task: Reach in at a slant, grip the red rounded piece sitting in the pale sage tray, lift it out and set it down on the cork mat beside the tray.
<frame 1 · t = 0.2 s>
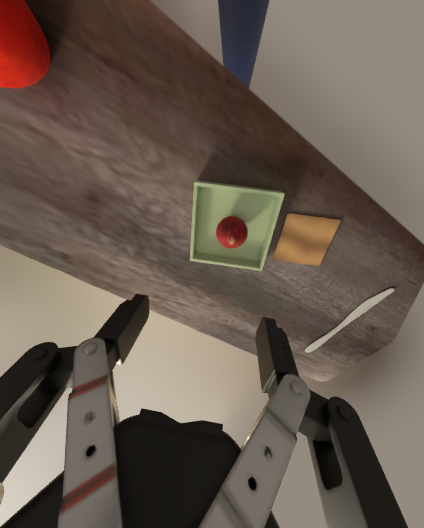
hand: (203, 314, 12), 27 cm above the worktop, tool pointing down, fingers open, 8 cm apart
red rounded piece: (231, 225, 36), resting on tray
apple: (35, 51, 26), on the worktop
cork mat: (304, 240, 36), on the worktop
butter knife: (341, 322, 46), on the worktop
tray: (231, 225, 36), on the worktop
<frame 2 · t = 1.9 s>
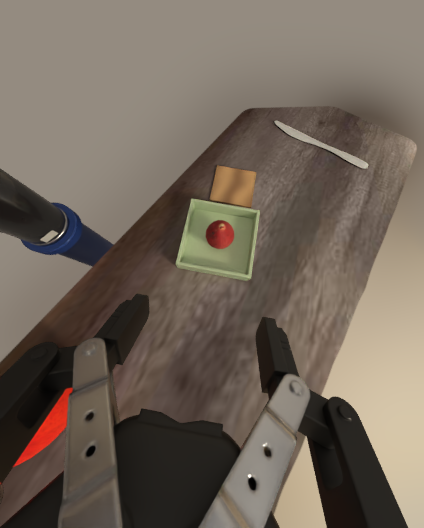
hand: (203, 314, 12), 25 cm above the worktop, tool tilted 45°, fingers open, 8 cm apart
red rounded piece: (218, 241, 40), resting on tray
apple: (70, 385, 33), on the worktop
cork mat: (233, 186, 44), on the worktop
butter knife: (318, 145, 48), on the worktop
tray: (218, 241, 40), on the worktop
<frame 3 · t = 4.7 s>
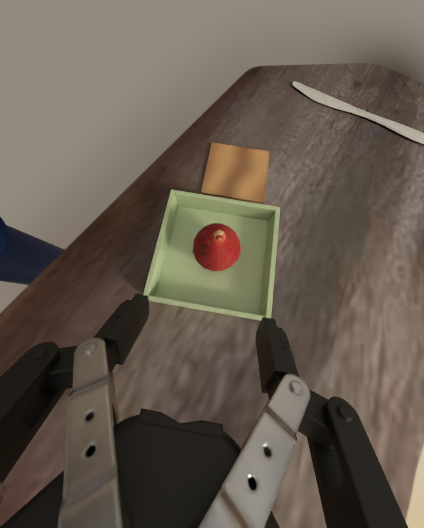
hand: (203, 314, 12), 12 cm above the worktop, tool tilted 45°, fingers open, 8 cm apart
red rounded piece: (215, 256, 26), resting on tray
cork mat: (236, 172, 29), on the worktop
butter knife: (355, 114, 33), on the worktop
tray: (215, 257, 26), on the worktop
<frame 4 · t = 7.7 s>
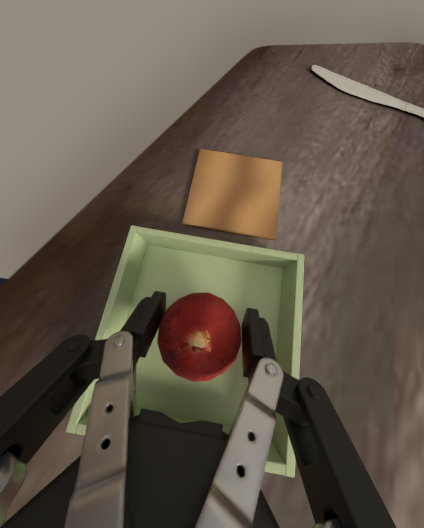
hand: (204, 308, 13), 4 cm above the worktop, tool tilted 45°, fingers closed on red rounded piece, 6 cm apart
red rounded piece: (201, 327, 17), resting on tray, touching gripper
cork mat: (234, 192, 20), on the worktop
butter knife: (399, 109, 24), on the worktop
tray: (201, 327, 17), on the worktop
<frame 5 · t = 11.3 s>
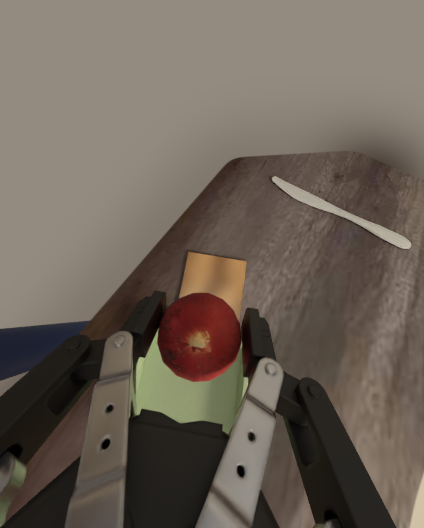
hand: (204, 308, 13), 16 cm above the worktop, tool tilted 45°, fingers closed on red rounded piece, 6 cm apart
red rounded piece: (201, 328, 17), point 12 cm above the worktop, touching gripper
cork mat: (212, 285, 29), on the worktop
butter knife: (335, 213, 33), on the worktop
tray: (188, 386, 26), on the worktop
when the fingers open (4 cm above the worktop, at t = 15.1 s): red rounded piece stays where it is, resting on cork mat.
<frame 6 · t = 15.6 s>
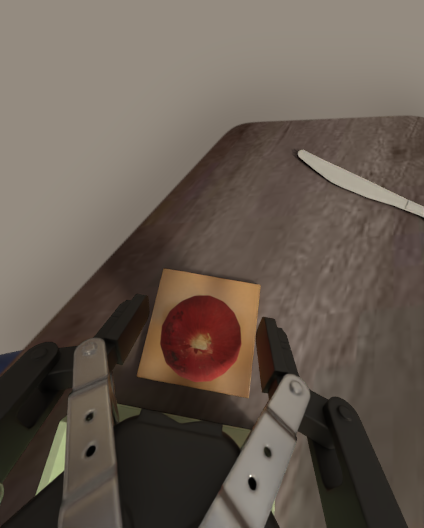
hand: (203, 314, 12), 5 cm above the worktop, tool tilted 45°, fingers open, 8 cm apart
red rounded piece: (202, 329, 17), resting on cork mat
cork mat: (202, 327, 17), on the worktop
butter knife: (399, 206, 21), on the worktop
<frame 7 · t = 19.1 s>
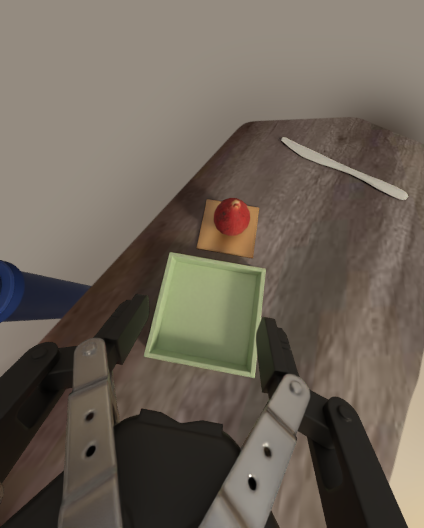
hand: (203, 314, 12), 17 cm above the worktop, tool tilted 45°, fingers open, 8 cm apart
red rounded piece: (229, 228, 33), resting on cork mat
cork mat: (228, 228, 33), on the worktop
butter knife: (339, 169, 37), on the worktop
tray: (208, 309, 29), on the worktop
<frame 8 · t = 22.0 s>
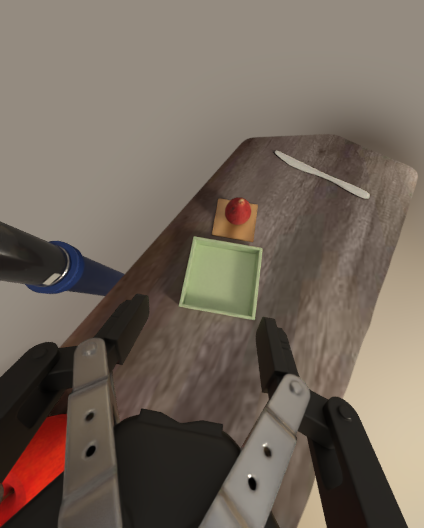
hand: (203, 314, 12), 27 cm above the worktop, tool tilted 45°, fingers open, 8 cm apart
red rounded piece: (235, 220, 44), resting on cork mat
apple: (74, 433, 33), on the worktop
cork mat: (235, 220, 44), on the worktop
butter knife: (319, 175, 48), on the worktop
tray: (221, 278, 40), on the worktop
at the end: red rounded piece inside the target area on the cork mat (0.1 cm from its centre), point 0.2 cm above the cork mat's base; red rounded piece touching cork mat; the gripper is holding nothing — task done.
